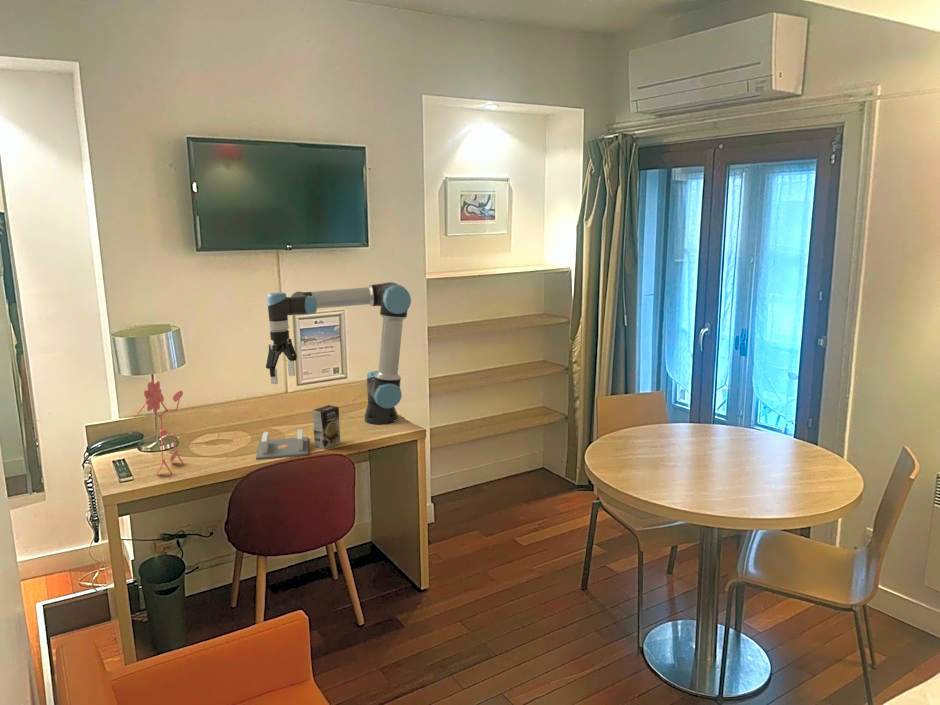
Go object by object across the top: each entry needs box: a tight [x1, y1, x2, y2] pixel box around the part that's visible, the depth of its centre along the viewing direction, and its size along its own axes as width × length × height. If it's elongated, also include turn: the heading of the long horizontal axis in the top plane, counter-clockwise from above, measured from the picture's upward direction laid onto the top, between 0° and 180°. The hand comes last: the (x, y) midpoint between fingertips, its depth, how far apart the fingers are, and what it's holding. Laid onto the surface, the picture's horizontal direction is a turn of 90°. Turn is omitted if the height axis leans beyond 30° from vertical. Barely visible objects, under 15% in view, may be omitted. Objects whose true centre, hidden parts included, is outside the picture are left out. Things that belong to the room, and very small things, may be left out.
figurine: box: [134, 379, 185, 475], centre depth 259 cm, size 15×26×35 cm, turn 175°
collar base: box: [255, 428, 309, 460], centre depth 282 cm, size 20×20×6 cm
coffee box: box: [312, 404, 341, 450], centre depth 285 cm, size 9×6×16 cm
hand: (283, 379), depth 288 cm, fingers open, 13 cm apart
